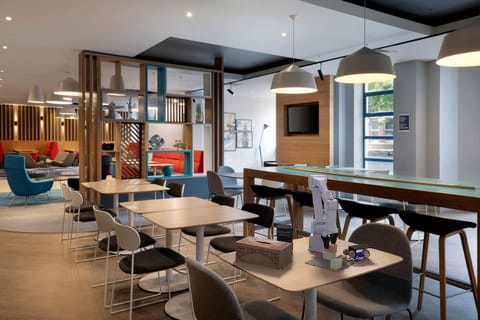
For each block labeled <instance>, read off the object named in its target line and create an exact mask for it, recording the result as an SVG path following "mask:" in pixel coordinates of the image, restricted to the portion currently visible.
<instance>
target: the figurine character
mask: <svg viewBox="0 0 480 320" xmlns="http://www.w3.org/2000/svg"><path fill="white" fill-rule="evenodd" d="M369 249H373V246H371V245H369V244H367V243H361V244H353V245H348V247H347V248H344V249H343V250H342V255H346V256H347V260H351V261H356V259H357V260H358V259H362V258H363V259H368V258H369V257H370V256H371V252H370V251H369Z"/></svg>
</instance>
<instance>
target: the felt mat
mask: <svg viewBox="0 0 480 320" xmlns="http://www.w3.org/2000/svg"><path fill="white" fill-rule="evenodd" d="M351 260H352V259H347V263H346V264H345V265H343V266H342V267H341V268H339V269H337V270H334V269H331V268H330V265H331V260H328V259H324V258H323V253H321V254H320V255H318V256H316V257H313V258H311V259H310V260H307V261H305V262H304V264H307V265H311V266H315V267H318V268H322V269H326V270H330V271H332V272H333V271H334V272H337V273H340V272H341V271H344V270H345V269H348V267H350V266H352V265H354V264H355V263H356V260H352V261H351Z"/></svg>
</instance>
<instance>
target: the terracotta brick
mask: <svg viewBox="0 0 480 320" xmlns="http://www.w3.org/2000/svg"><path fill="white" fill-rule="evenodd" d="M324 251H326V252H330V253H336V254H337V253H338V244H337V243H336V244H331V242H330V243H329V249H324Z"/></svg>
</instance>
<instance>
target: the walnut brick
mask: <svg viewBox="0 0 480 320" xmlns="http://www.w3.org/2000/svg"><path fill="white" fill-rule="evenodd" d="M336 258H339V259H342V266H343V265H345V264H346V263H347V260H348V259H347V258H348V255H347V256H346V255H344V254H340V255H336Z"/></svg>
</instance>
